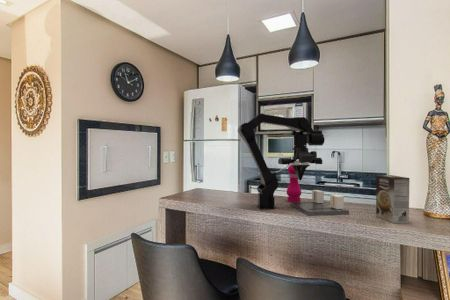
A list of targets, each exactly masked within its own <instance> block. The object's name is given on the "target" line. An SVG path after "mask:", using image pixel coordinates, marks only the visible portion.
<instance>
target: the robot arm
mask: <svg viewBox="0 0 450 300" xmlns="http://www.w3.org/2000/svg"><path fill="white" fill-rule="evenodd" d="M261 124H265V125H272V126H273V125H274V126H280V127H285V128H288V129H290V130H292V131H291V132H290V133H288V136H290V137H291V136H293V147H292V151H293V156H292V158H291V157H279V158H278V160H277V163H278V165H289V166H293V168H294V170H295V172H296V174H297V177H298V181H302V180H303V177H304V174H305V171H306V169H308V167H310V166H311V164H315V165H323V159H322V157H318V156H317V155H318V152H317V151H316V150H313V151H310V152H309V148H308V146H309V147H310V146H314V147H315V146H317V147H318V146H321V147H322V146H323V145H324V143H325V135H324V133H323V130H314V129H313V128H312V126H311V125H310V124H309V121H308V119H307V118H306V117H303V116H298V117H297V116H296V117H295V116H294V117H286V116H285V117H284V116H279V115H271V114H265V113H262V112H260V113H258V114H256V115H255V116H254V118H252V119H250V120H249V121H247V122H244V123H242V124H240V125H239V126H238V128H237V132H238V135H239V136H240V138H241V139H242V140H243V142H244V143H245V144H246V145H247V147H248V150H249V152H250V154H251V157H252V159H253V161H254V163H255V166H256V168H257V170H258V172H259V177H260V178H259V179H260V182H261V183H260V184H259V185H258V186H257V187H256V190H257V192H258V193H257V204H256V207H257V208H258V209H260V210H275V209H276V208H275V197H274V195H275V191H277V189H278V187H279V182H280V181H279V178H277V174H276V172H274V171H271V170H270V169H269V167H268V165H267V162H266V161H265V159H264V156H263V153H262V152H261V150H260V147H259V145H258V143H257V140H256V133H255V129H256V128H258V127H259V126H260V125H261ZM307 145H308V146H307Z"/></svg>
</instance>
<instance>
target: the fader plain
mask: <svg viewBox="0 0 450 300" xmlns="http://www.w3.org/2000/svg"><path fill="white" fill-rule="evenodd" d="M311 192H312V193H311V194H312V195H311V196H312V197H311V199H312V200H311V201H314V202H316V203H324V201H325V200H324V197H325V196H324V195H325V194H324V192H325V191H323V190H319V189H313V190H312V191H311Z"/></svg>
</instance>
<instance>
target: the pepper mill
mask: <svg viewBox="0 0 450 300" xmlns="http://www.w3.org/2000/svg"><path fill="white" fill-rule="evenodd" d="M287 172H288V173H289V174H288V177H289V184H288V186H287V188H286V195H287V202H289V203H290V202H298V201H301V195H302V189H301V186H300V185H299V179H298V177H297V174H296V172H295V170H294V168H293V166H290V165H288V167H287Z"/></svg>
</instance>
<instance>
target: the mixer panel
mask: <svg viewBox="0 0 450 300" xmlns="http://www.w3.org/2000/svg"><path fill="white" fill-rule="evenodd" d="M289 203H290V204H289V205H290V206H291V207H293V208H295V209H297V210H299V211H300V212H302V213H303V214H305V215H306V216H308V217H310V216H337V215H338V216H340V215H341V216H342V215H349V214H350V210H348V209H346V208H344V209H335V208H333V207H331V206H330V201H329V202H328V201H327V200H324V203H316V202H314V201H312V200H309V201H307V200H304V201H301V200H300V201H298V202H289Z"/></svg>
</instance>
